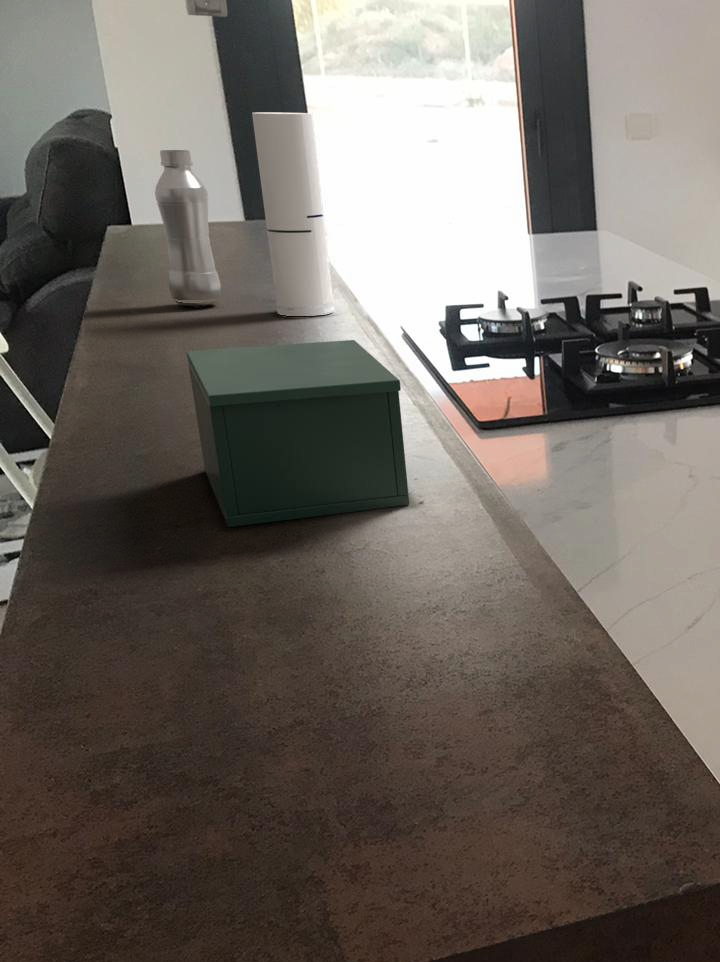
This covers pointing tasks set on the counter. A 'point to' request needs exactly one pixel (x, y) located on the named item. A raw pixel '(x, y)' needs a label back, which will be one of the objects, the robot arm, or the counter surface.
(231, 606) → the counter surface
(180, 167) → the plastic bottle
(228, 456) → the green open box
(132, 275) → the counter surface
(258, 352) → the lid
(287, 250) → the cylindrical container
